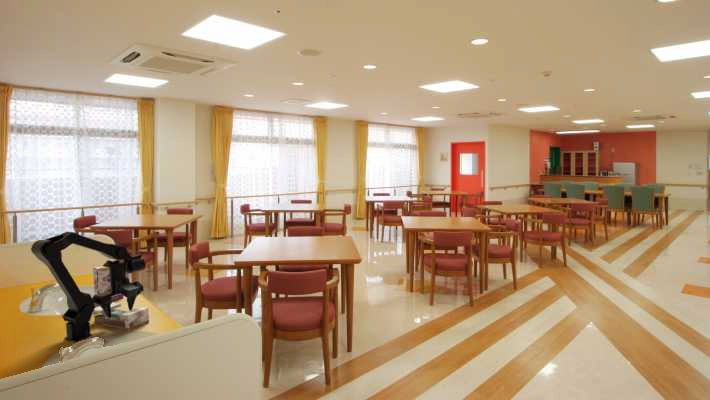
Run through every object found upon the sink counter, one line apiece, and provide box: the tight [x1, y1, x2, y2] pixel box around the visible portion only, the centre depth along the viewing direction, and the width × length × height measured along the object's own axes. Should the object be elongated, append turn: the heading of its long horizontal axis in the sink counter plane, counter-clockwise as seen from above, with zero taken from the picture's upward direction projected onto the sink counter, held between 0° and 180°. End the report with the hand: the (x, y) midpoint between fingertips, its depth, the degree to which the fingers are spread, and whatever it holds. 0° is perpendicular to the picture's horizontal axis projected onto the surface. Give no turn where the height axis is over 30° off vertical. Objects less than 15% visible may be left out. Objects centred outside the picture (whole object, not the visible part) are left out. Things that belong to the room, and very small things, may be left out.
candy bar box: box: [92, 265, 124, 302], centre depth 197 cm, size 11×5×16 cm, turn 141°
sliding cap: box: [92, 301, 122, 316], centre depth 171 cm, size 9×6×4 cm, turn 156°
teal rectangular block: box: [111, 310, 125, 318], centre depth 168 cm, size 8×3×3 cm, turn 65°
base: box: [93, 306, 150, 331], centre depth 168 cm, size 9×20×6 cm, turn 66°
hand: (120, 314), depth 168 cm, fingers open, 9 cm apart
